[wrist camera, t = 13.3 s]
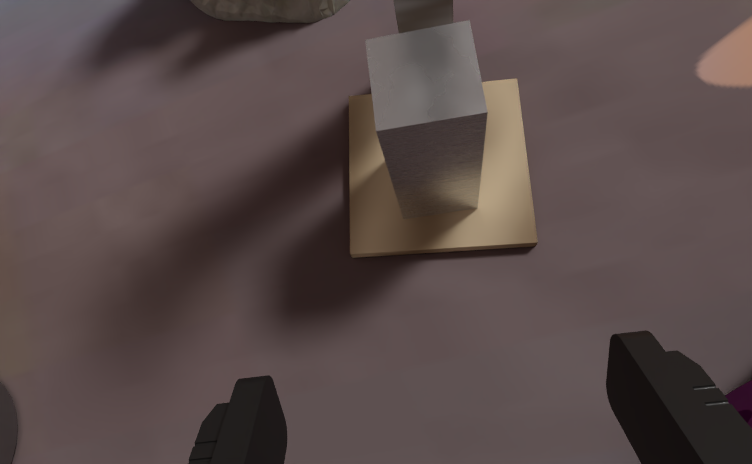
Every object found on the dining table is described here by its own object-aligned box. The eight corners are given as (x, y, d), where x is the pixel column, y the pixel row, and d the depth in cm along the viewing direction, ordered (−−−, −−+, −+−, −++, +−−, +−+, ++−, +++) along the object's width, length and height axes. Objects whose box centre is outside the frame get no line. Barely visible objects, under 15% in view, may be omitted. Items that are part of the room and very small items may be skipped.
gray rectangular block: (477, 208, 31) (487, 112, 20) (403, 219, 31) (376, 131, 21) (465, 141, 32) (469, 19, 22) (394, 153, 33) (365, 39, 22)
